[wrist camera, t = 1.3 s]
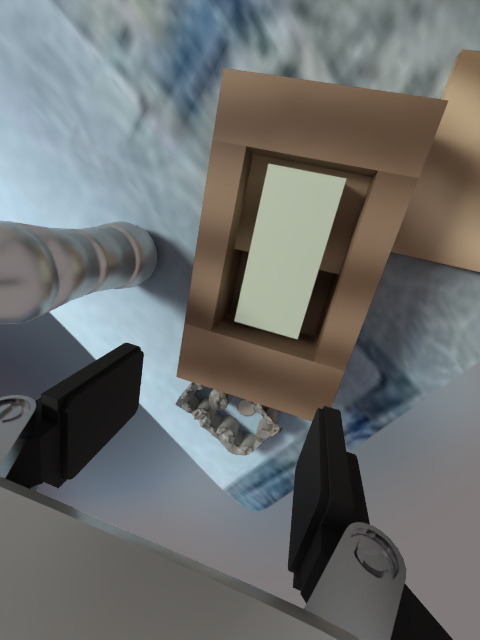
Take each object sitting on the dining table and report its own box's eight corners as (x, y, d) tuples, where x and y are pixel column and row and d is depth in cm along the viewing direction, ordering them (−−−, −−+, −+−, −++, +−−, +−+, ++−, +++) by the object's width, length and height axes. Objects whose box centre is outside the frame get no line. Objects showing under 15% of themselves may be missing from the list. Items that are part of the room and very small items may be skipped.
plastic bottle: (176, 260, 31) (-30, 308, 12) (135, 294, 33) (-89, 379, 15) (139, 208, 30) (-140, 178, 12) (99, 248, 33) (-183, 274, 14)
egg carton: (290, 409, 33) (287, 433, 30) (247, 443, 36) (240, 469, 32) (221, 347, 33) (209, 362, 29) (184, 386, 36) (168, 405, 32)
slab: (272, 169, 22) (268, 163, 20) (343, 183, 22) (346, 178, 19) (240, 313, 27) (234, 321, 24) (298, 329, 26) (297, 339, 24)
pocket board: (244, 105, 25) (223, 68, 19) (413, 133, 23) (448, 100, 17) (200, 350, 33) (176, 376, 27) (322, 387, 31) (324, 425, 25)
